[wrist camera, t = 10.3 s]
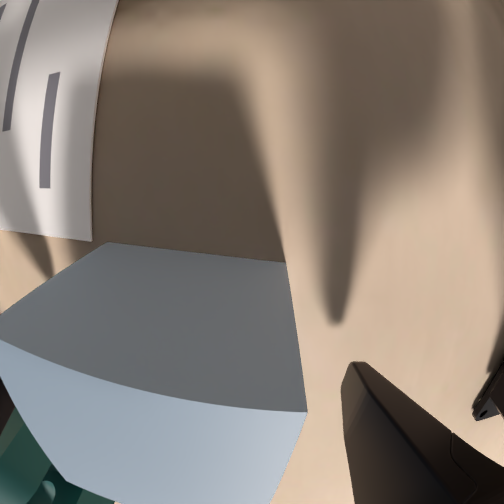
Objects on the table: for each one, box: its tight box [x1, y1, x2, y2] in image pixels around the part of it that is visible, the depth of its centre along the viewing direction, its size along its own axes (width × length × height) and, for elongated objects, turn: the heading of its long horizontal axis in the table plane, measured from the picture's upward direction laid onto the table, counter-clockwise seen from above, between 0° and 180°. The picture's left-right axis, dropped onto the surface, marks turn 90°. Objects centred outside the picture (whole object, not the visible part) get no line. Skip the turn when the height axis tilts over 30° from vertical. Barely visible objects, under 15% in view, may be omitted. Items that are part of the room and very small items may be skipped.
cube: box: [0, 242, 308, 504], centre depth 6 cm, size 5×5×5 cm
